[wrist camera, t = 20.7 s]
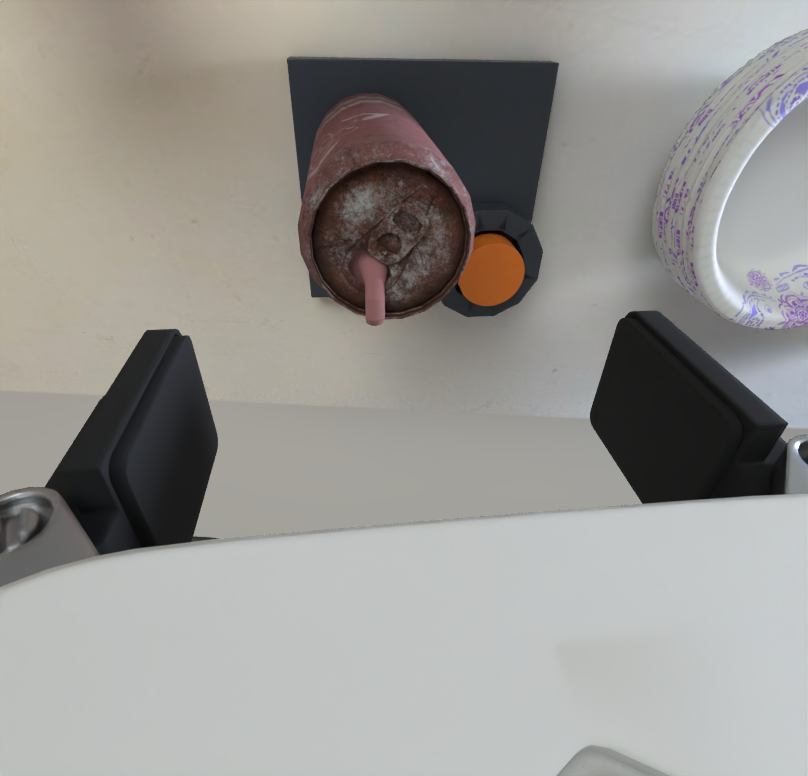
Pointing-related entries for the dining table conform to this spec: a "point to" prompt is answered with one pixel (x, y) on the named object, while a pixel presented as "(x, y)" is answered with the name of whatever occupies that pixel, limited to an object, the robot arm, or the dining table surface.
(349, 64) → the scale
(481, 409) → the dining table surface
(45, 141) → the dining table surface
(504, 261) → the button
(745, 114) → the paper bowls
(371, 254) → the can
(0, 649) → the robot arm
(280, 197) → the dining table surface
